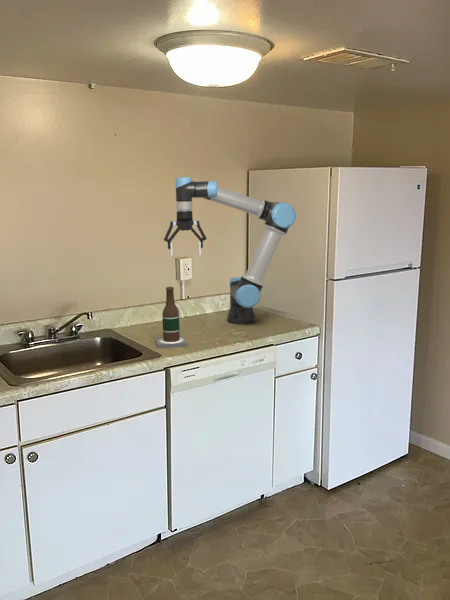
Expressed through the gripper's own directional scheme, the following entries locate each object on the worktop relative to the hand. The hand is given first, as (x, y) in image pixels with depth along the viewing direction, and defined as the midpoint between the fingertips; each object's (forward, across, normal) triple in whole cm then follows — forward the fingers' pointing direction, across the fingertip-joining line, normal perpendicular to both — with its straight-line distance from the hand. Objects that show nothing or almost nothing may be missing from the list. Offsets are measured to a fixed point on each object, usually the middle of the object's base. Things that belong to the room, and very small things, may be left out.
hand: (185, 255), depth 266 cm
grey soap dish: (+37, +10, +24) cm, 45 cm away
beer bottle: (+35, +10, +24) cm, 44 cm away
